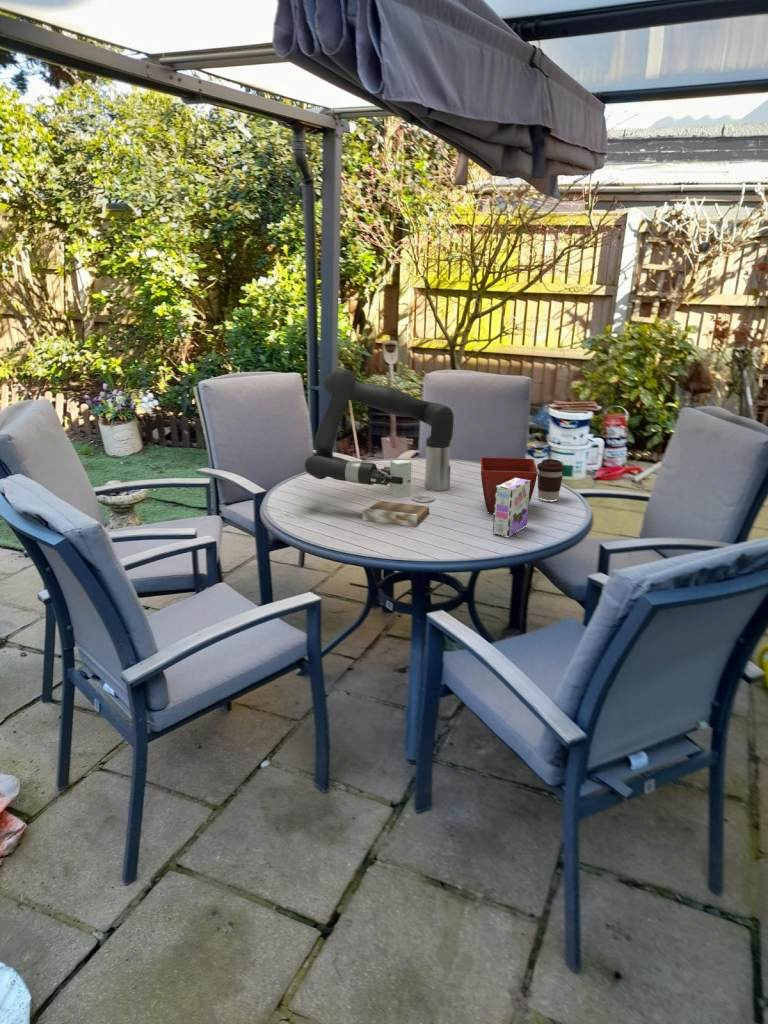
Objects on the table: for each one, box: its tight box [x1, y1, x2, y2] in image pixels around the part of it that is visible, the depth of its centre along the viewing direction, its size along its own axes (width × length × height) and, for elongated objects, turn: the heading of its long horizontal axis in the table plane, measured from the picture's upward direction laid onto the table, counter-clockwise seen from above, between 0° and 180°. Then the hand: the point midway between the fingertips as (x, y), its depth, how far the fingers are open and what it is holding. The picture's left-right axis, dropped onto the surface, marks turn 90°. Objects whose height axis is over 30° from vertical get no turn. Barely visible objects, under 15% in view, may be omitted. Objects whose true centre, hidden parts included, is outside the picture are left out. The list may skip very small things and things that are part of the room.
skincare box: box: [389, 459, 412, 499], centre depth 226 cm, size 6×4×12 cm
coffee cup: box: [536, 458, 565, 500], centre depth 251 cm, size 10×10×15 cm
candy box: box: [492, 478, 530, 536], centre depth 217 cm, size 14×6×16 cm, turn 143°
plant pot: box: [480, 456, 539, 514], centre depth 239 cm, size 19×19×17 cm
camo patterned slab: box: [362, 500, 430, 527], centre depth 232 cm, size 19×16×4 cm
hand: (406, 478), depth 225 cm, fingers closed on skincare box, 7 cm apart
